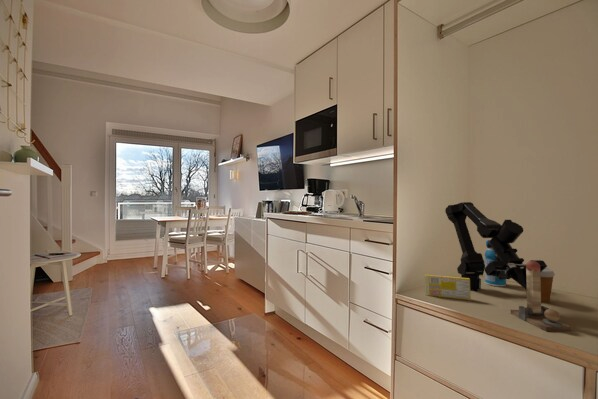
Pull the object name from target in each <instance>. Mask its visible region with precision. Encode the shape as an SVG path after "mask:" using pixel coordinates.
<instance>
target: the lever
mask: <svg viewBox="0 0 598 399" xmlns="http://www.w3.org/2000/svg"><path fill="white" fill-rule="evenodd" d="M525 264H526V280H527V290H526V308H528V312H529V315H543V313H544V312H543V310H542V308H541V306H542V302H541V280H540V265H539V263H537V262H536V261H531V260H529V261H528V262H526V263H525Z"/></svg>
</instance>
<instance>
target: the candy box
mask: <svg viewBox="0 0 598 399" xmlns="http://www.w3.org/2000/svg"><path fill="white" fill-rule="evenodd" d="M424 295H425V296H428V297H429V296H430V297H437V296H438V298H446V299H447V298H448V299H457V300H463V301H471V299H472V298H471V290H470V278H461V277H458V276H447V275H434V274H424Z"/></svg>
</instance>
